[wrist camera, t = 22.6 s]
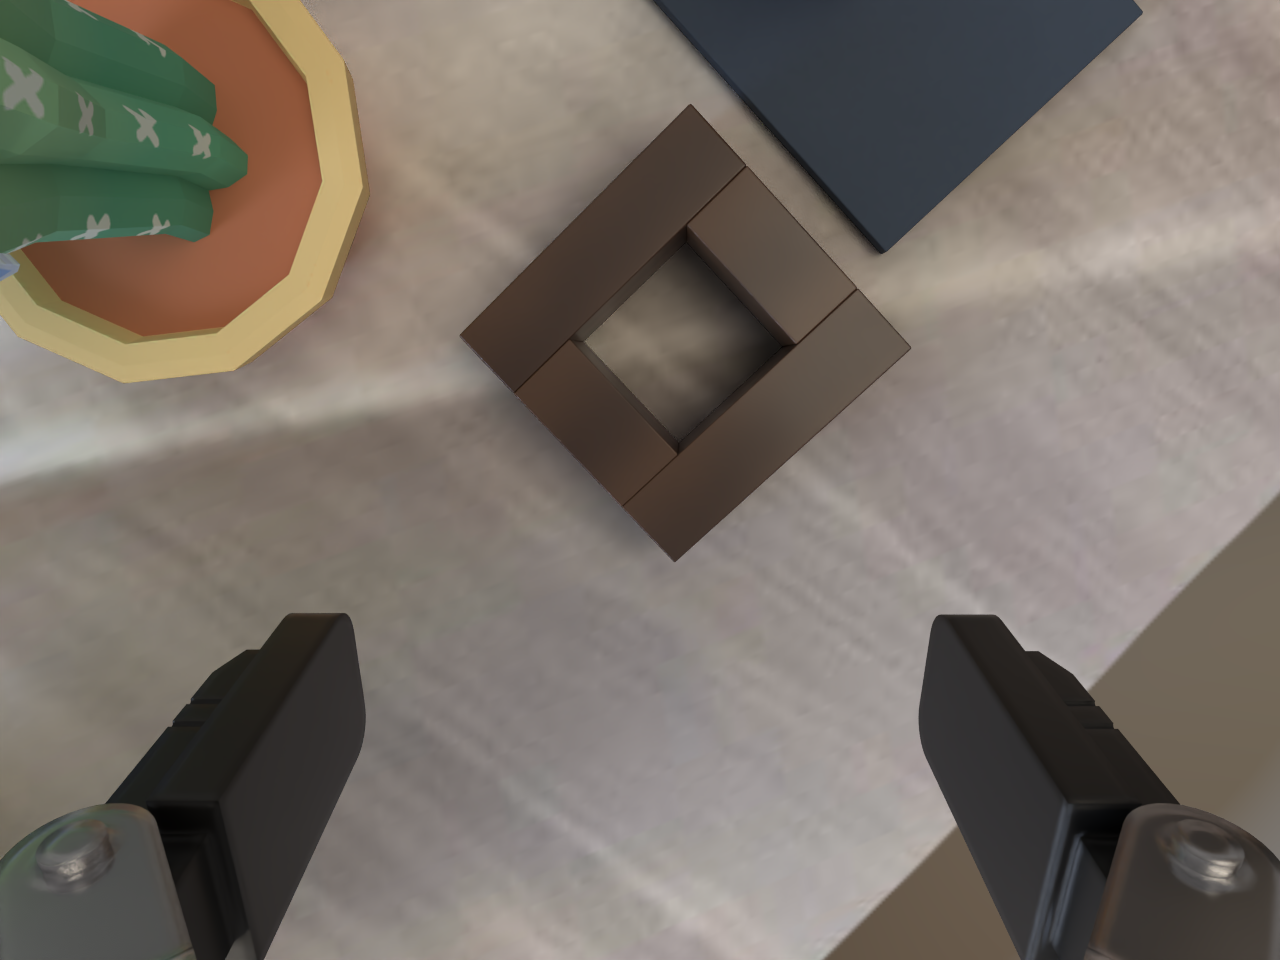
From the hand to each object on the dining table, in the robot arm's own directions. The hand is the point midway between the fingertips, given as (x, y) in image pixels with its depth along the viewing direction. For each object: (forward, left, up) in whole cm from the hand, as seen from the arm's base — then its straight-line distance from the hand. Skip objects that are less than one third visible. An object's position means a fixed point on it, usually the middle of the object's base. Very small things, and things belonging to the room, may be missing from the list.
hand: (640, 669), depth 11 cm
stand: (-3, +4, -25) cm, 25 cm away
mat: (-10, +19, -25) cm, 33 cm away
